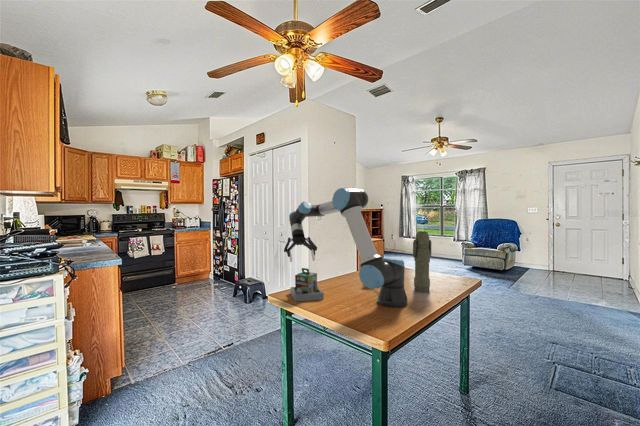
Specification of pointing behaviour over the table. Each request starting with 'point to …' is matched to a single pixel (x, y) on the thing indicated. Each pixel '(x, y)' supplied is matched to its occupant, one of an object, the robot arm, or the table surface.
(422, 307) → the table surface
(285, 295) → the table surface
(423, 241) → the green stone statue
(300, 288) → the chalk box
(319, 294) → the tray
